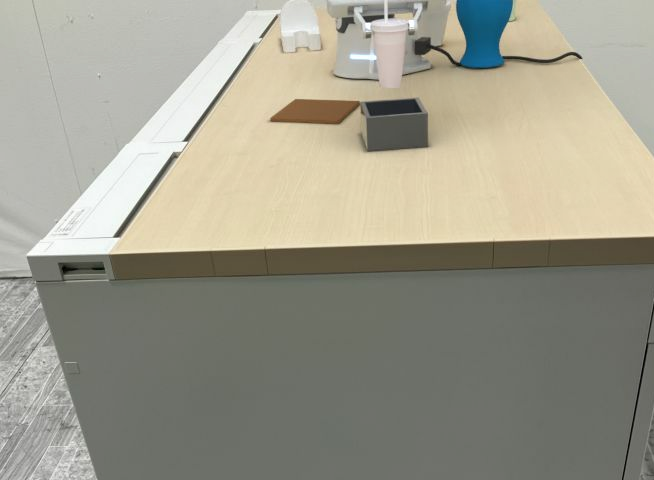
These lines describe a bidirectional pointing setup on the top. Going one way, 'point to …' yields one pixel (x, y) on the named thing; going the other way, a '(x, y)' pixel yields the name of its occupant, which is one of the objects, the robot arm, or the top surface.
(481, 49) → the vase
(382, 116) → the holder
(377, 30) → the smoothie
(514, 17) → the candle
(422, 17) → the cup
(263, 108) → the top surface
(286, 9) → the white u-slot block
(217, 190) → the top surface
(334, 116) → the coaster
